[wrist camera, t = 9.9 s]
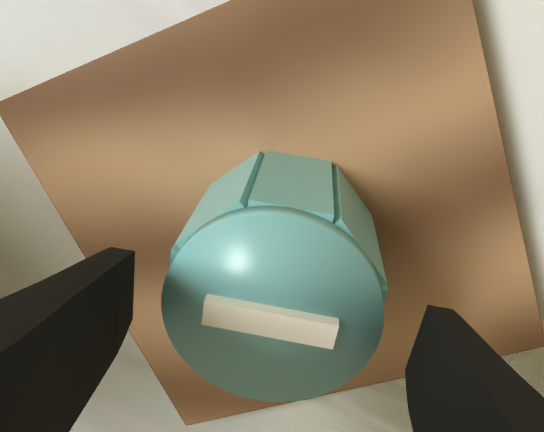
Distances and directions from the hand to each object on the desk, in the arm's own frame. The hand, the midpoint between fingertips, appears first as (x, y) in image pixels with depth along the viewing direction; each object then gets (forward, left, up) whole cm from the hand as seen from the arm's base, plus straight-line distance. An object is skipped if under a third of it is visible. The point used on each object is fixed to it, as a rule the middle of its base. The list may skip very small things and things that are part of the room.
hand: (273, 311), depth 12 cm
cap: (0, 0, -4) cm, 4 cm away
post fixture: (0, 0, -5) cm, 5 cm away
